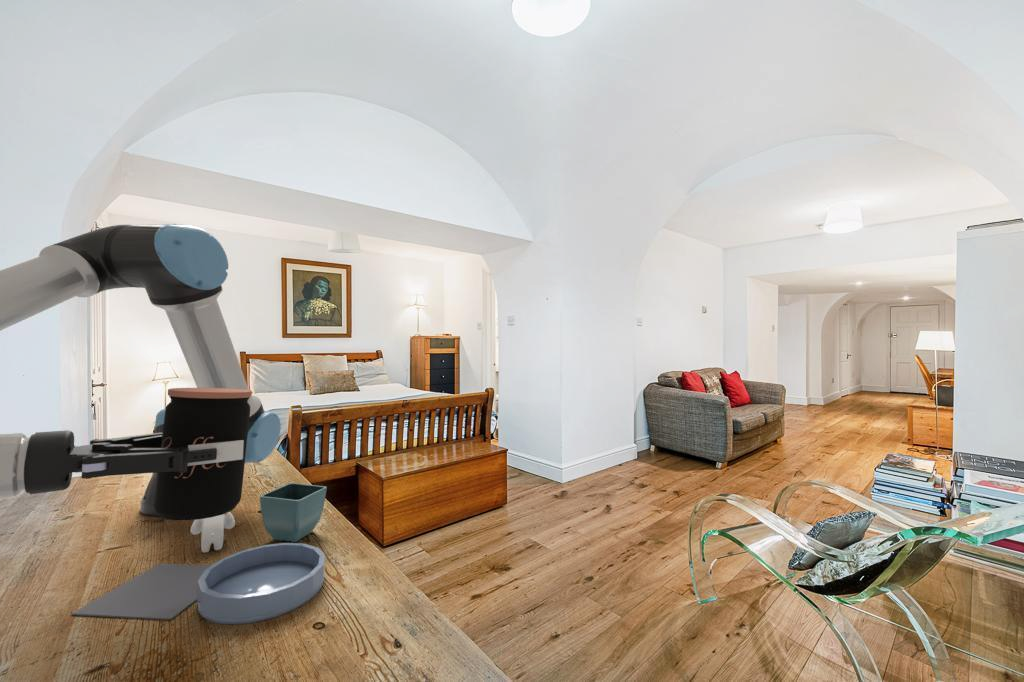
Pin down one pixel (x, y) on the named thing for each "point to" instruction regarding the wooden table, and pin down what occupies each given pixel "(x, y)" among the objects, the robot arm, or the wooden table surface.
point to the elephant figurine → (212, 530)
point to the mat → (150, 594)
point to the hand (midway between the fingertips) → (235, 442)
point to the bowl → (260, 583)
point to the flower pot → (292, 510)
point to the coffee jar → (203, 422)
